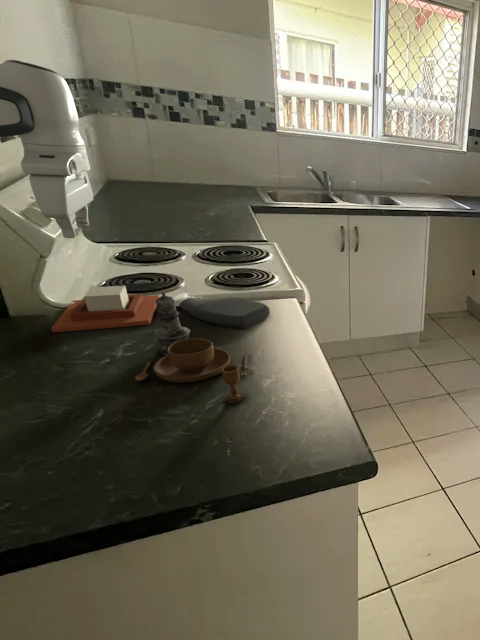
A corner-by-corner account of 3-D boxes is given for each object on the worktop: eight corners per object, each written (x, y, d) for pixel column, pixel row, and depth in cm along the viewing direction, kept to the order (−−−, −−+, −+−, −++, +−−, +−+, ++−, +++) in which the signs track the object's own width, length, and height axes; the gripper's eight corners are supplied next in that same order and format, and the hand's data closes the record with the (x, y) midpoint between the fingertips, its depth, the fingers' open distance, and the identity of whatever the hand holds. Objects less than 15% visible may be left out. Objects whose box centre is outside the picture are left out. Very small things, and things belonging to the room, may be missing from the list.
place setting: (250, 350, 96) (246, 323, 94) (248, 401, 80) (243, 371, 78) (145, 360, 89) (137, 331, 86) (119, 419, 73) (109, 386, 70)
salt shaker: (162, 343, 95) (148, 287, 90) (196, 341, 97) (184, 286, 92) (153, 356, 90) (139, 298, 85) (189, 354, 92) (177, 296, 87)
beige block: (89, 316, 101) (84, 296, 99) (96, 306, 106) (91, 287, 104) (124, 313, 104) (119, 294, 102) (129, 304, 108) (125, 285, 107)
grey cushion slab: (239, 331, 103) (152, 311, 109) (275, 315, 113) (193, 297, 118) (237, 319, 102) (149, 299, 108) (273, 303, 111) (191, 286, 117)
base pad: (52, 332, 95) (48, 321, 94) (74, 304, 108) (71, 294, 107) (149, 324, 102) (146, 313, 101) (159, 299, 115) (157, 289, 114)
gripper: (53, 153, 97) (71, 220, 103) (16, 164, 81) (40, 244, 87) (93, 155, 100) (108, 221, 106) (64, 167, 84) (84, 244, 89)
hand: (77, 231), depth 96 cm, fingers open, 8 cm apart
